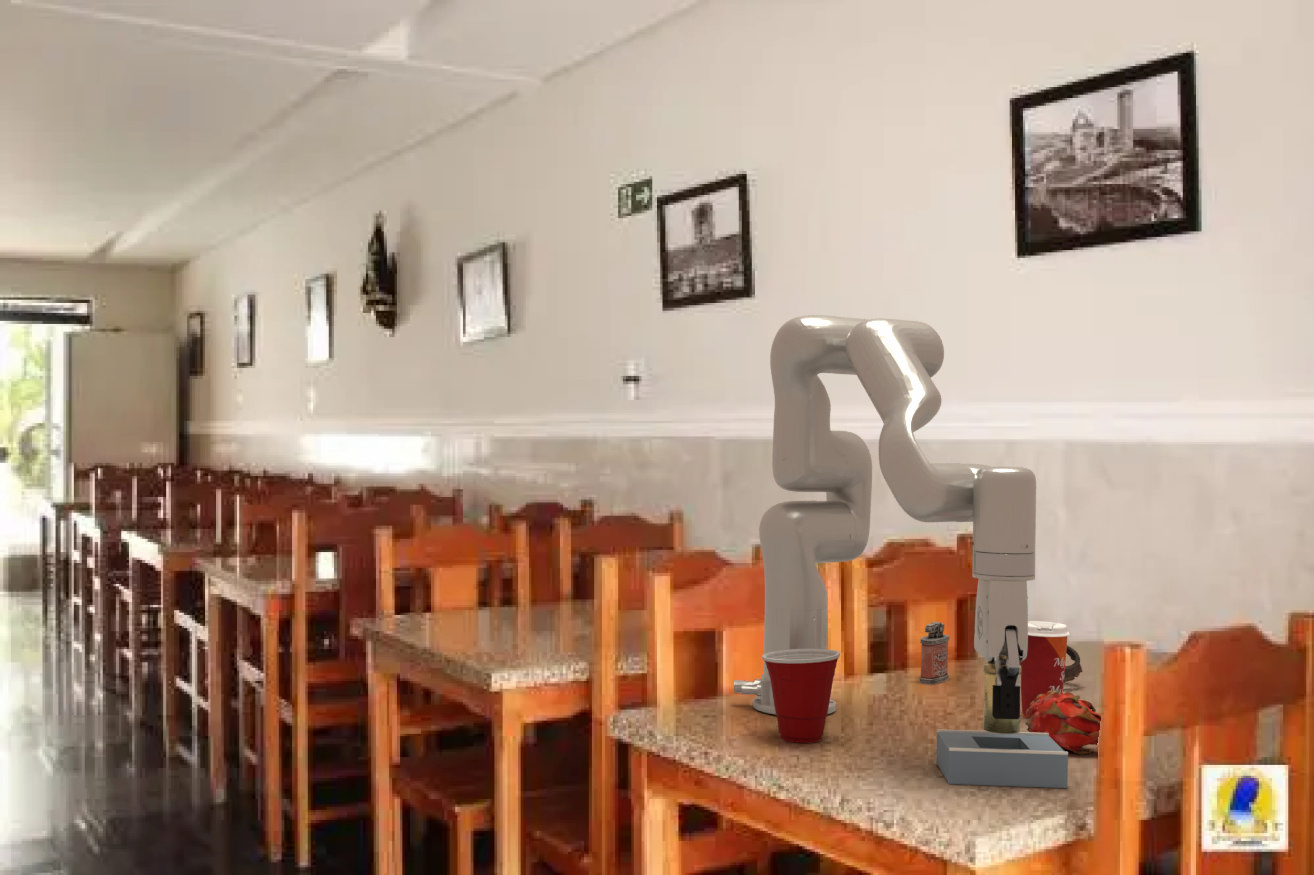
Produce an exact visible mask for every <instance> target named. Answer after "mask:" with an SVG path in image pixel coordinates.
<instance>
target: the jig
mask: <svg viewBox="0 0 1314 875" xmlns="http://www.w3.org/2000/svg"><path fill="white" fill-rule="evenodd" d="M935 763H936V764H937V766H938V768H939V770H940V771H941V773H942V775H943V776H944V779H945V780H946V782H947V783H948V784H949V785H968V786H971V785H972V786H995V787H996V786H997V787H999V786H1001V787H1021V788H1022V787H1023V788H1025V787H1026V788H1048V789H1049V788H1051V789H1068V784H1069V783H1068V781H1069V780H1068V777H1069V767H1068V766H1069V752H1068V751H1065V749H1064V748H1061V747H1060V746H1059V745H1058V744H1057V743H1056V742H1055V741H1054V740H1053V739H1052V738H1050V737H1049V733H1033V732H1029V731H1020V732H1018V733H1013V734H1001V733H993V732H989V731H986V730H974V729H973V730H971V729H969V730H968V729H967V730H965V729H942V728H941V729H936V762H935Z"/></svg>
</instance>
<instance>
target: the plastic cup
mask: <svg viewBox="0 0 1314 875" xmlns="http://www.w3.org/2000/svg"><path fill="white" fill-rule="evenodd" d="M840 657H841V652H840V651H838V650H834V649H828V648H827V649H792V650H781V651H774V652H769V653H766V654H764V653H763V654H762V655H761V659H762V660H763V662H764V661H765V664H766V666H767V669H768V672H769V676H770V680H771V687H772V693H773V699H774V706H775V712H776V714H777V715H776V720H777V728H778V729H777V730H778V734H779V737H780V739H781V740H783V741H786V742H790V743H796V744H797V743H799V744H811V743H818V742H821V741H822V738H823V736H824V732H825V726H826V721H827V716H828V715H829V714H828V708H829V702H830V699H831V695H832V689H833V684H834V682H833V681H834V678H835V675H836V668H837V663H838V660H839V658H840Z"/></svg>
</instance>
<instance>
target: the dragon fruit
mask: <svg viewBox="0 0 1314 875" xmlns="http://www.w3.org/2000/svg"><path fill="white" fill-rule="evenodd" d="M1059 691H1060V690H1057V691H1048V692H1047V694H1039V695H1038V696H1037V697H1036V699H1035V700H1034V701H1033V702H1031V704H1030V706H1029V709H1027V711H1026V717H1027V718H1028V719H1027V718H1026V719H1027V721H1026V722H1025V723H1024V724H1025V725H1027V728H1026V732H1033V733H1049V737H1050V738H1052V739H1053V740H1054V741H1055V742H1056V743H1057V744H1058V745H1059V746H1060V747H1061V748H1062V749H1063V750H1068V751H1070V752H1072V753H1074V754H1078V755H1087V754H1091V753H1093V751H1092V750H1091V749H1083V750H1081V749H1082V748H1083V747H1086V746H1089V745H1091V746H1092V745H1093V746H1094V745H1095V746H1098V745H1097V743H1098V737H1099V730H1100V721H1101V713H1098V712H1097V710H1096V708H1095V706H1094V705H1093V704H1092V703H1091V702H1090V701H1088V700H1084V699H1080V698H1081V696H1080V695H1079V694H1076V695H1075V694H1074V693H1072V692H1070V691H1065V692H1063V694H1062V695H1061V694H1060V693H1059Z"/></svg>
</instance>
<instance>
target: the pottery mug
mask: <svg viewBox="0 0 1314 875" xmlns="http://www.w3.org/2000/svg"><path fill="white" fill-rule="evenodd" d="M1066 655H1068V656H1069V657H1070V660H1072V661H1073V663H1072V664H1070V665H1065V676H1064V683H1067V682H1072V681H1075V679H1076V678H1078V677H1079V676H1080V674H1081V673H1083V668H1082V664H1081V657H1080V655H1079V653H1078V652H1077V650H1075V649H1074V648H1073V647H1071V646H1069V645H1067V649H1066ZM1019 663H1020V661H1019Z"/></svg>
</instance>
